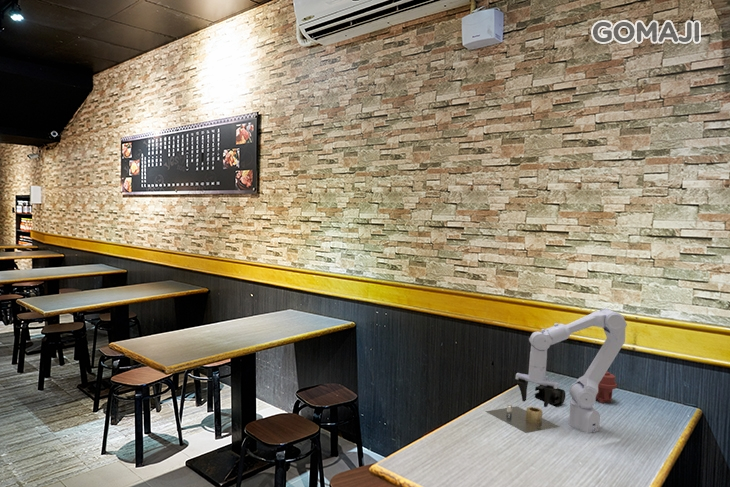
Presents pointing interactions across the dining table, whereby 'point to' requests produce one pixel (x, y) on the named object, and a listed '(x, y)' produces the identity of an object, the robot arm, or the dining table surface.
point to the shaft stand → (520, 419)
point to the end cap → (555, 399)
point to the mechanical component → (606, 388)
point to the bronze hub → (534, 415)
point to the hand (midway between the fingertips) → (534, 403)
